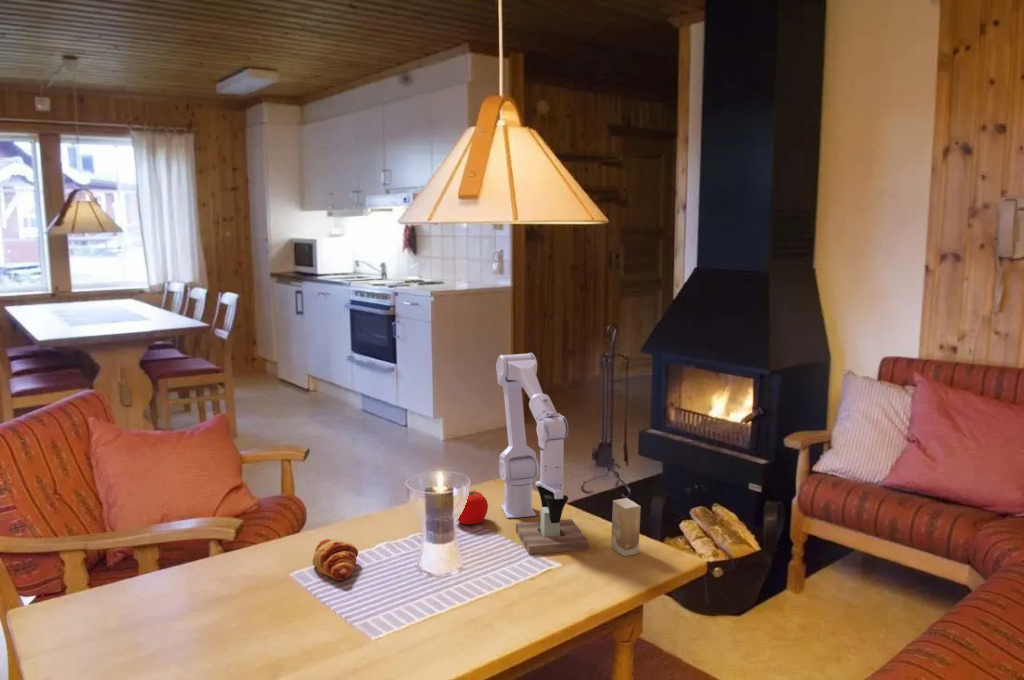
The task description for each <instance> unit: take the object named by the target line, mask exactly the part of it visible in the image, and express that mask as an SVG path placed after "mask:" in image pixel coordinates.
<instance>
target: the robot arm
mask: <svg viewBox="0 0 1024 680" xmlns="http://www.w3.org/2000/svg"><path fill="white" fill-rule="evenodd" d="M495 369H496V370H495V371H496V378H497V384H498V385H499V386H500V387H502V389H503V399H504V409H505V410H504V411H505V419H506V420H505V421H506V423H505V424H506V431H507V442H508V446H507V447H506V448H505V449H504V450H503V451H502V452H501V453H500V454H499V464H498V472H499V476H500V479H501V480H502V481H503V482H504V486H503V487H504V488H503V489H504V493H503V495H504V497H503V498H504V500H503V501H504V502H503V504H501V507H500V508H501V510H502V511H503V513H504V514H505V517H507V519H515V518H527V517H529V518H530V517H536V516H537V513H536V512H535V510H534V509H533V483H535V487H536V489H537V491H538V494H539V497H540V502H541V507H548V509H549V516H550V521H551V523H559V522H560V520H562V515H563V511H564V508H565V505H566V504H567V502H568V501H569V496H568V495H565V494H564V485H565V483H564V482H565V481H564V447H565V446H564V445H565V444H564V441H565V440H566V439H567V437H568V435H569V424H568V421H567V419H566V417H565V416H564V415H561V413H560V412H559V413H558V412H557V410H556V408H555V406H554V403H553V402H552V399H551V398H550V395H548V394H546V393H543V390H542V387H541V384H540V382H539V380H538V377H537V371H538V361H537V357H536V355H535V354H534V353H533V352H528V353H518V354H517V353H515V354H514V353H513V354H499V356H498V357H497V360H496V364H495ZM522 389H524V392H525V393H526V395H527V397H528V398H529V403H528V407H529V410H530V412H531V414H532V416H533V418H534V420H535V422H536V429H535V431H536V434H537V439H538V442H537V443H538V447H540V449H539V450H540V451H539V453H540V459H539V460H540V464H539V462H538V459H537V454H536V450H533V449H532V448H531V447H530V446H528V444H527V436H526V435H527V434H526V427H525V426H526V424H525V415H524V405H523V404H524V402H523V394H522ZM539 473H540V474H539ZM538 475H539V480H537V481H535V479H536V478H537V477H538Z"/></svg>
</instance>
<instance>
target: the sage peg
mask: <svg viewBox="0 0 1024 680" xmlns="http://www.w3.org/2000/svg"><path fill="white" fill-rule="evenodd" d="M540 521H541V536H542V538H546V537H558V536H560V522H559V523H551V521H550V516H549V509H548V507H542V506H541V507H540Z"/></svg>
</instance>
